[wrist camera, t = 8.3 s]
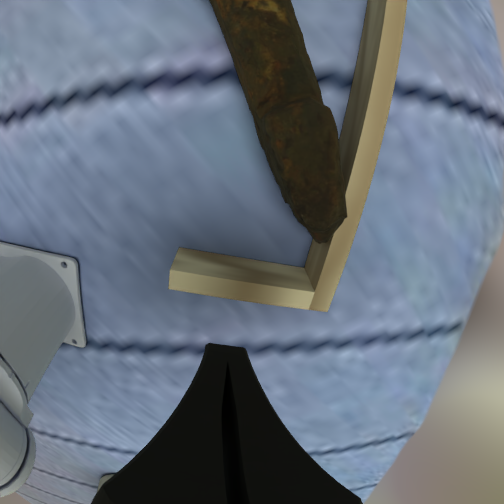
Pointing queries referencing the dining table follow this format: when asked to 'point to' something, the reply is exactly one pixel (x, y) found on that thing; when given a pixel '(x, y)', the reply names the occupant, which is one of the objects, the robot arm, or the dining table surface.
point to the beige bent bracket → (355, 182)
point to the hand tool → (287, 109)
